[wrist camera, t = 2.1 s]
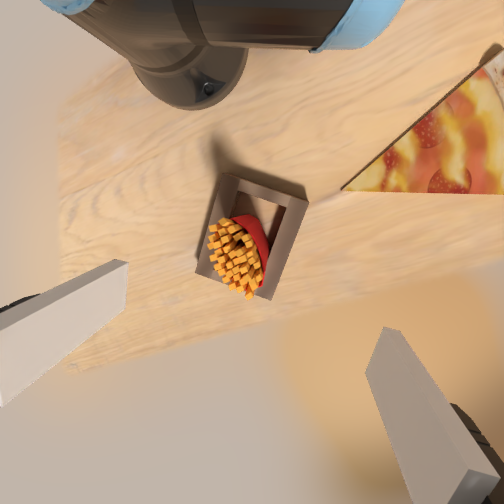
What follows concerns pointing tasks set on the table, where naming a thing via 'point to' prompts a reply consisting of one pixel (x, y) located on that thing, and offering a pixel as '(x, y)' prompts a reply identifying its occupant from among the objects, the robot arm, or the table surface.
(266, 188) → the fry holder
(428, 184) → the pizza slice
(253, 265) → the french fries
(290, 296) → the table surface
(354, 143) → the table surface
